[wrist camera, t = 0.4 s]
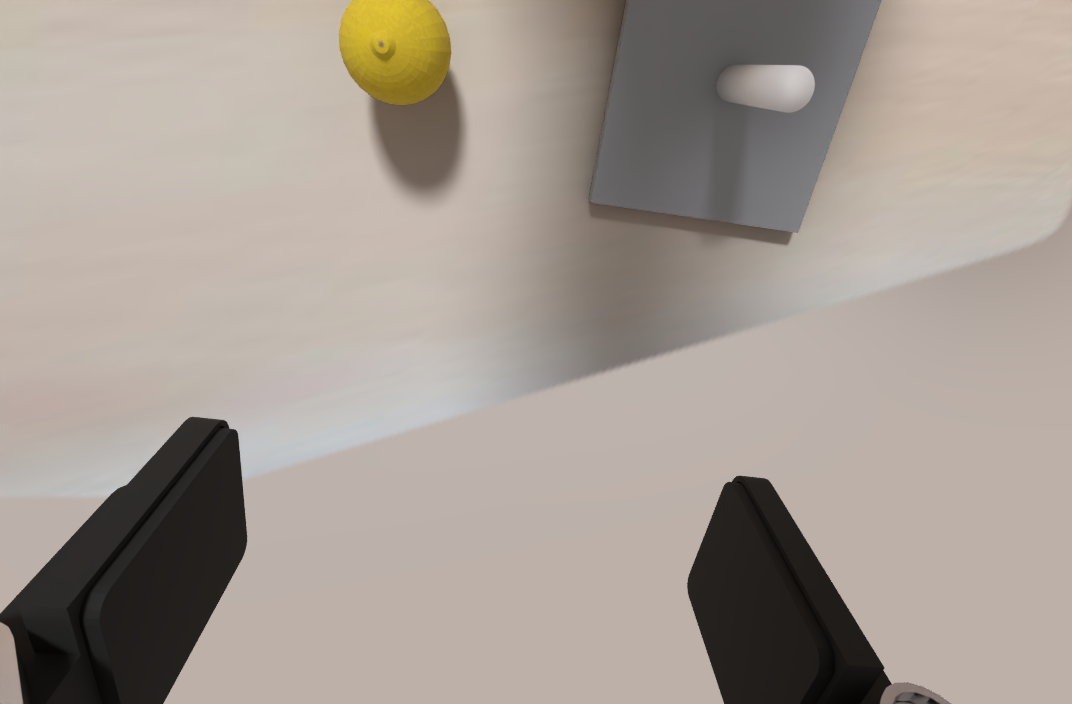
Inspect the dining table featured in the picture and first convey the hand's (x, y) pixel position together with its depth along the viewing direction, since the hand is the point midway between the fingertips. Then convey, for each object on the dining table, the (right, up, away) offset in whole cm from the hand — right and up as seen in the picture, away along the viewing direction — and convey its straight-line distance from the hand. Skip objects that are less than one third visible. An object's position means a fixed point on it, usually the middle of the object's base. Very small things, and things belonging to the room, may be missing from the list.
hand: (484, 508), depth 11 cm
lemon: (-6, +21, +22) cm, 31 cm away
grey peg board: (+13, +19, +24) cm, 33 cm away
